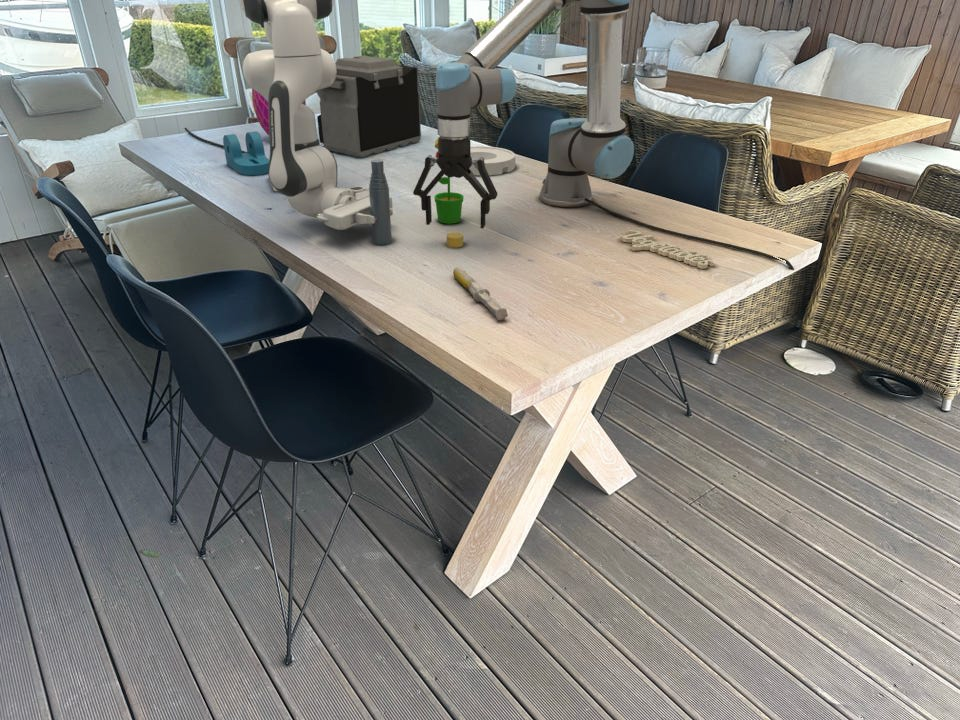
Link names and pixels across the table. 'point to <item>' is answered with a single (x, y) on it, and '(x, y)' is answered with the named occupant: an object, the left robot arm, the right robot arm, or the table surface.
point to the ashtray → (493, 159)
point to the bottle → (380, 204)
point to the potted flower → (448, 202)
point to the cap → (454, 240)
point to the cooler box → (369, 107)
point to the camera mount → (246, 154)
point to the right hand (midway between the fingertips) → (455, 224)
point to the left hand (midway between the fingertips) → (383, 216)
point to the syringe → (479, 293)
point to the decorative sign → (666, 249)
